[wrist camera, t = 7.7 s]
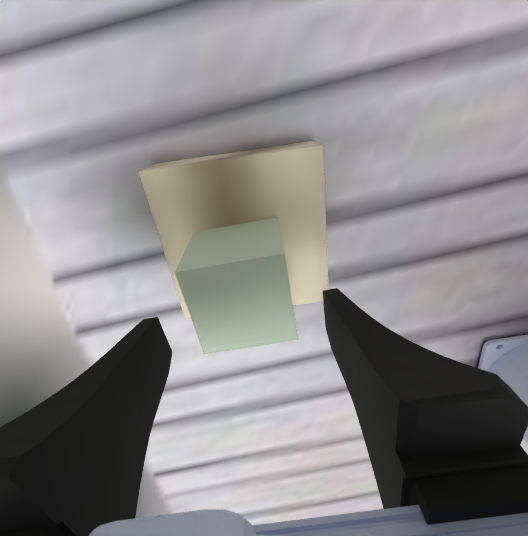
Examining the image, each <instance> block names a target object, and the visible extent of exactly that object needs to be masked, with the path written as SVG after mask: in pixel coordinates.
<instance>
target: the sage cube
mask: <svg viewBox="0 0 528 536" xmlns="http://www.w3.org/2000/svg"><path fill="white" fill-rule="evenodd" d="M175 275H176V278H177V281H178V283H179V286H180V289H181V292H182V294H183V297H184V300H185V303H186V305H187V308H188V311H189V313H190V316H191V319H192V322H193V324H194V327H195V330H196V333H197V335H198V338H199V341H200V344H201V346H202V349H203V352H204V354H209V353H215V352H222V351H228V350H234V349H241V348H247V347H253V346H260V345H266V344H273V343H279V342H285V341H292V340H298V333H297V327H296V321H295V315H294V309H293V302H292V296H291V290H290V284H289V278H288V271H287V265H286V259H285V253H284V248H283V244H282V239H281V234H280V230H279V225H278V220H277V217H275V218H270V219H264V220H259V221H253V222H248V223H242V224H237V225H231V226H226V227H220V228H215V229H209V230H204V231H198V232H194V234H193V236H192V238H191V240H190V242H189V244H188V246H187V248H186V250H185V252H184V254H183V256H182V258H181V260H180V262H179V264H178V266H177V268H176V270H175Z"/></svg>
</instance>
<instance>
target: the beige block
mask: <svg viewBox="0 0 528 536" xmlns="http://www.w3.org/2000/svg"><path fill="white" fill-rule="evenodd" d="M139 175H140V178H141V181H142V184H143V188H144V191H145V194H146V197H147V200H148V203H149V206H150V210H151V213H152V216H153V219H154V222H155V225H156V228H157V232H158V235H159V238H160V241H161V244H162V247H163V250H164V253H165V257H166V260H167V263H168V266H169V269H170V272H171V275H172V279H173V282H174V285H175V288H176V291H177V294H178V297H179V300H180V304H181V307H182V310H183V313H184V316H185V319H191V316H190V313H189V311H188V308H187V305H186V303H185V300H184V297H183V294H182V292H181V289H180V286H179V283H178V281H177V278H176V275H175V270H176V268H177V266H178V264H179V262H180V260H181V258H182V256H183V254H184V252H185V250H186V248H187V246H188V244H189V242H190V240H191V238H192V236H193V234H194V232H198V231H204V230H209V229H215V228H220V227H226V226H231V225H237V224H242V223H248V222H253V221H259V220H264V219H270V218H275V217H277V220H278V225H279V230H280V234H281V239H282V244H283V248H284V253H285V259H286V265H287V271H288V278H289V284H290V290H291V296H292V302H293V305H300V304H307V303H315V302H323V290H328V262H327V234H326V206H325V177H324V149H323V145H322V144H320V143H318V142H316V141H307V142H300V143H293V144H286V145H279V146H272V147H266V148H259V149H252V150H245V151H238V152H231V153H224V154H218V155H211V156H204V157H197V158H190V159H183V160H176V161H169V162H163V163H156V164H152V165H150V166H149V167H147V168H145V169H143V170H141V171H139Z"/></svg>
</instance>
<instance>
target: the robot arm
mask: <svg viewBox="0 0 528 536" xmlns="http://www.w3.org/2000/svg"><path fill="white" fill-rule="evenodd" d="M323 302H324V313H325V325H326V331H327V334H328V338H329V342H330V345H331V349H332V351H333V354H334V356H335V359H336V361H337V364H338V366H339V368H340V371H341V373H342V376H343V378H344V380H345V383H346V385H347V388H348V390H349V393H350V395H351V398H352V401H353V403H354V406H355V410H356V413H357V416H358V419H359V423H360V426H361V429H362V433H363V436H364V440H365V443H366V446H367V450H368V453H369V457H370V460H371V464H372V468H373V471H374V475H375V478H376V482H377V485H378V489H379V493H380V497H381V500H382V504H383V508H384V509H381V510H373V511H365V512H357V513H349V514H341V515H333V516H325V517H317V518H309V519H301V520H292V521H284V522H276V523H268V524H260V525H251V524H250V523H249V522H248V521H247V520H246V519H245V518H244V517H243V516H242V515H241V514H238V513H234V512H231V511H228V510H197V511H190V512H182V513H174V514H166V515H158V516H151V517H143V518H135V515H136V508H137V501H138V495H139V489H140V482H141V477H142V471H143V466H144V461H145V455H146V451H147V446H148V441H149V436H150V432H151V429H152V425H153V421H154V418H155V415H156V412H157V409H158V406H159V403H160V400H161V397H162V393H163V390H164V387H165V384H166V381H167V377H168V374H169V369H170V363H171V357H172V350H171V348H170V345H169V343H168V341H167V338H166V336H165V334H164V331H163V329H162V326H161V324H160V322H159V319H158V317H155V318H148V319H144V320H142V321H141V322H140V323H139V324H138V325H136V326H135V327H134V328H133V329H132V330H131V331H130V332H129V333H128V334H127V335H126V336H125V337H123V338H122V339H121V340H120V341H119V342H118V343H117V344H116V345H115V346H114V347H113V348H112V349H110V350H109V351H108V352H107V353H106V354H105V355H104V356H103V357H101V358H100V359H99V360H98V361H97V362H96V363H94V364H93V365H92V366H91V367H90V368H89V369H87V370H86V371H85V372H84V373H83V374H81V375H80V376H79V377H77V378H76V379H75V380H74V381H72V382H71V383H69V384H68V385H67V386H65V387H64V388H63V389H61V390H60V391H58V392H57V393H55V394H54V395H52V396H51V397H49V398H48V399H46V400H45V401H43V402H42V403H40V404H39V405H37V406H36V407H34V408H32V409H31V410H29V411H28V412H26V413H24V414H23V415H21V416H19V417H18V418H16V419H14V420H12V421H11V422H9V423H7V424H5V425H4V426H2V427H0V536H528V455H527V453H526V452H525V451H524V450H523V448H522V447H521V446H520V444H521V441H522V439H524V440H525V441H526V442H527V444H528V335H522V336H515V337H509V338H502V339H495V340H489V341H487V342H486V343H485V344H484V345H483V349H482V353H481V357H480V362H479V366H478V368H475V367H472V366H469V365H466V364H463V363H460V362H457V361H455V360H452V359H449V358H447V357H444V356H442V355H439V354H437V353H434V352H432V351H430V350H428V349H425V348H423V347H421V346H419V345H417V344H415V343H413V342H411V341H409V340H407V339H405V338H403V337H402V336H400V335H398V334H396V333H395V332H393V331H391V330H389V329H388V328H386V327H385V326H383V325H382V324H380V323H379V322H377V321H376V320H375V319H373V318H372V317H371V316H369V315H368V314H367V313H365V312H364V311H363V310H362V309H360V308H359V307H358V306H357V305H355V304H354V303H353V302H352V301H351V300H350V299H349V298H347V297H346V296H345V295H344V294H343V293H342V292H341V291H340V290H338V289H337V288H336V289H330V290H323Z"/></svg>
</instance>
